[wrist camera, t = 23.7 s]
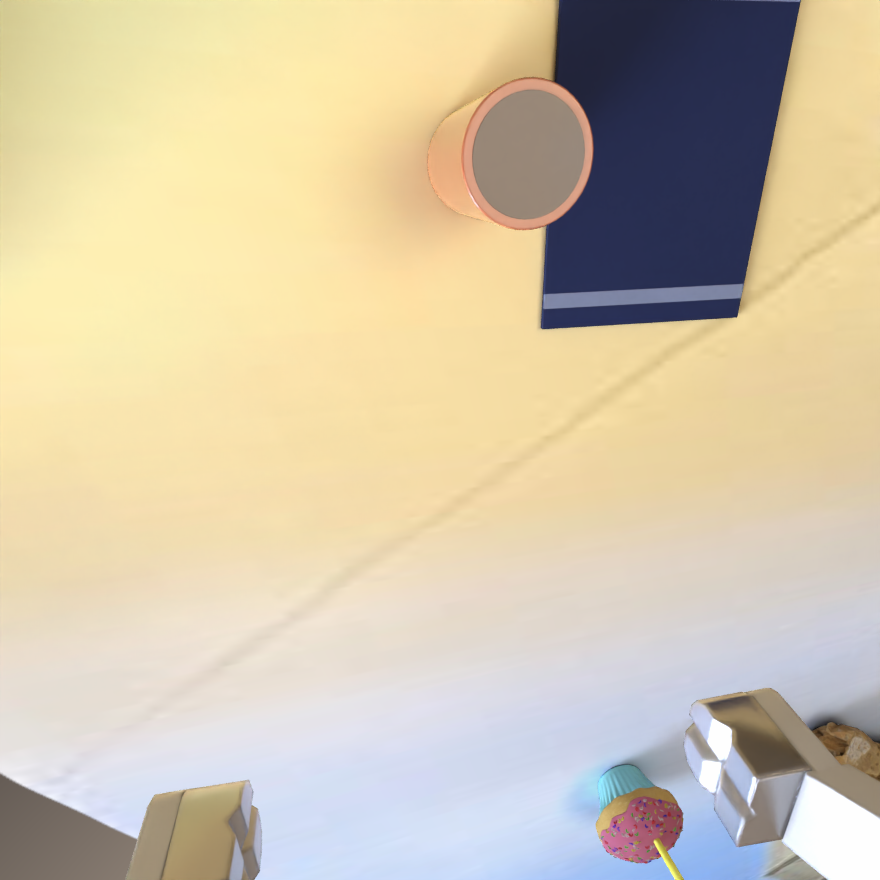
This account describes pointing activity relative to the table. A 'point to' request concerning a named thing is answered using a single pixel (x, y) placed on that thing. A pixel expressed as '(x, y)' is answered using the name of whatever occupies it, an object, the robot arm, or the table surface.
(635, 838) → the cupcake
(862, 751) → the sponge
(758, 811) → the robot arm
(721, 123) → the cloth
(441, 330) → the table surface
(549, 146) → the tumbler
